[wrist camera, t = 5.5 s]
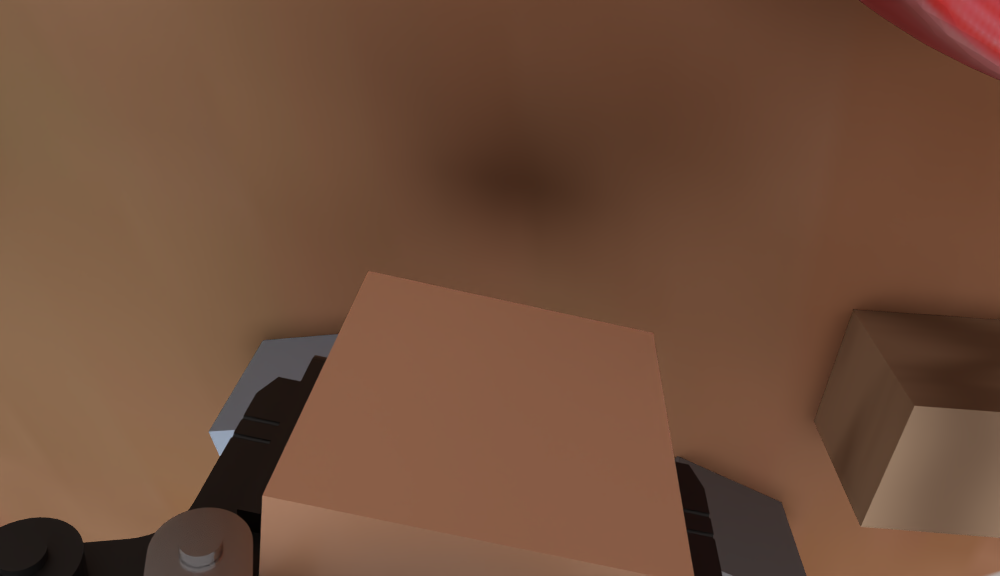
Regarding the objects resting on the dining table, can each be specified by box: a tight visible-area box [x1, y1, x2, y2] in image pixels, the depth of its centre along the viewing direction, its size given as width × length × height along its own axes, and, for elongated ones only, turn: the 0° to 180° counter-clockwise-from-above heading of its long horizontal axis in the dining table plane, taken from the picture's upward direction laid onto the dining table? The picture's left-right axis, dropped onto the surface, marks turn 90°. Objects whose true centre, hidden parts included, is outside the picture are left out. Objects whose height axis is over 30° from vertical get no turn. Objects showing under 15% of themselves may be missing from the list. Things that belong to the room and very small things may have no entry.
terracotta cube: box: [259, 271, 694, 576], centre depth 12 cm, size 5×5×5 cm
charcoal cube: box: [675, 456, 806, 576], centre depth 28 cm, size 5×5×5 cm
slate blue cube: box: [209, 334, 338, 456], centre depth 26 cm, size 5×5×5 cm
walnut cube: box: [814, 309, 1000, 538], centre depth 24 cm, size 5×5×5 cm
